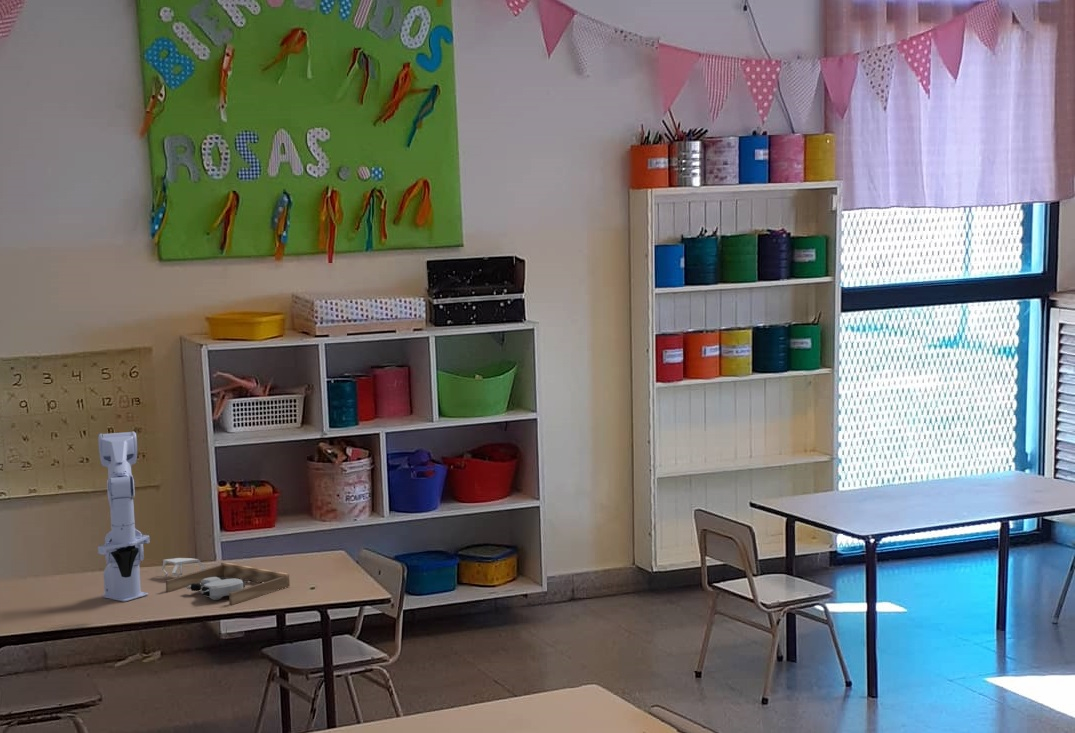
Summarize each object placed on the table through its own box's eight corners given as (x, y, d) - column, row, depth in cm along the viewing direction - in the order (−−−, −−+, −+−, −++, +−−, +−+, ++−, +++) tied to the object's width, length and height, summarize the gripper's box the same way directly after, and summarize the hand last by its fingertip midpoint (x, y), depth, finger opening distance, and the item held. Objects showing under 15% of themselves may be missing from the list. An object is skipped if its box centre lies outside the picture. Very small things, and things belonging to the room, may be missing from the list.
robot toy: (184, 597, 368) (210, 604, 357) (183, 581, 368) (208, 587, 356) (226, 588, 376) (252, 595, 364) (224, 572, 376) (251, 578, 364)
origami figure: (161, 582, 381) (160, 565, 381) (162, 575, 389) (161, 558, 389) (205, 579, 384) (204, 561, 383) (206, 571, 392) (205, 554, 391)
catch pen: (166, 591, 371) (165, 578, 371) (224, 574, 388) (223, 562, 387) (232, 605, 356) (231, 591, 356) (289, 586, 373) (289, 573, 372)
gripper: (109, 531, 339) (112, 585, 340) (156, 519, 351) (159, 572, 352) (91, 528, 343) (94, 581, 344) (138, 517, 355) (141, 568, 356)
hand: (126, 576), depth 349 cm, fingers closed
